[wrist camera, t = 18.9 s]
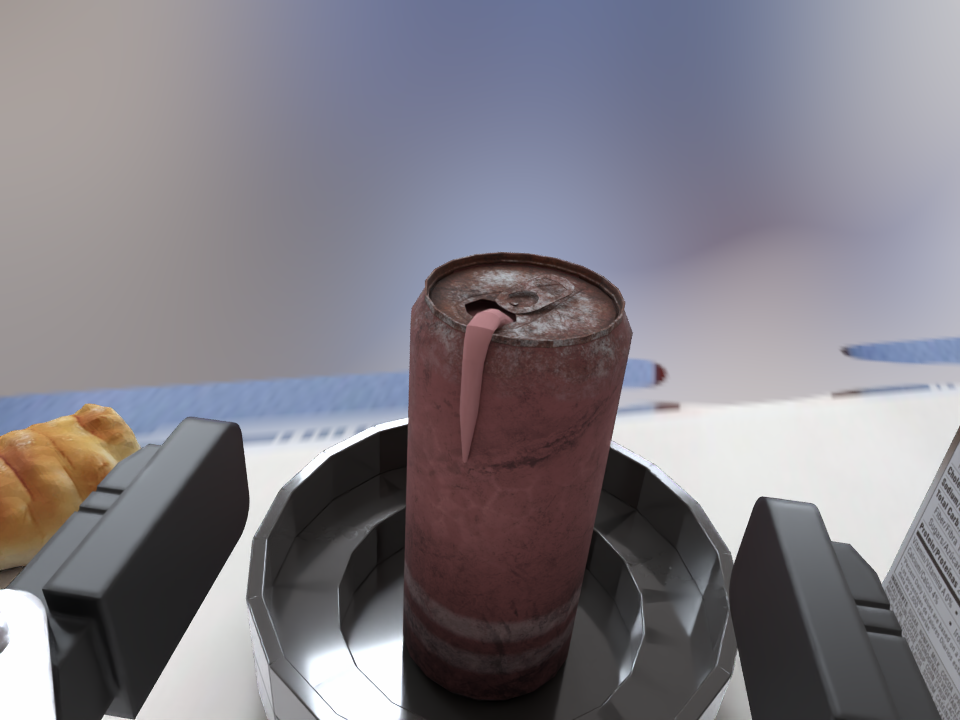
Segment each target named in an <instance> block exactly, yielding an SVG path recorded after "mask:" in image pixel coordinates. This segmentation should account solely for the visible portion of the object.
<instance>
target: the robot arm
mask: <svg viewBox="0 0 960 720" xmlns="http://www.w3.org/2000/svg"><path fill="white" fill-rule="evenodd" d="M248 511H249V489H248V481H247V473H246V464H245V456H244V448H243V440H242V433H241V429H240V427H239V425H238V424H237V423H234V422H226V421H219V420H212V419H204V418H197V417H187V418H185V419H184V420H183V421H182V422H181V423H180V424H179V425H178V426H177V428H176V429H175V430H174V431H173V432H172V434H171V435H170V436H169V437H168V438H167V440H166V441H165V442H164V443H163V444H162V445H155V444H148V445H146V446H145V447H143V448H141V449H140V450H138V451H136V452H135V453H133V454H131V455H130V456H128V457H127V458H125V459H123V460H122V461H120V462H118V463H117V464H116V466H115V467H114V468H113V469H112V470H111V471H110V472H109V473H108V474H107V476H106V477H105V478H104V479H103V480H102V481H101V482H100V483H99V485H98V486H97V490H96V492H95V491H92V492H91V494H90V495H89V496H88V497H87V498H86V499H85V500H84V501H83V503H82V504H81V505H80V506H79V510H78V512H76V511H74V513H73V514H72V515H71V516H70V517H69V518H68V519H67V520H66V522H65V523H64V524H63V525H62V526H61V527H60V528H59V529H58V531H57V532H56V533H55V534H54V535H53V536H52V537H51V538H50V540H49V541H48V542H47V543H46V544H45V545H44V546H43V547H42V548H41V550H40V551H39V552H38V553H37V554H36V555H35V556H34V557H33V559H32V560H31V561H30V562H29V563H28V564H27V565H26V566H25V568H24V569H23V570H22V571H21V572H20V573H19V574H18V575H17V577H16V578H15V579H14V580H13V581H12V582H11V583H10V584H9V585H8V586H7V587H6V588H5V589H0V720H101V719H102V717H103V716H104V714H105V715H111V716H117V717H122V718H128V719H134V720H135V718H136V716H137V714H138V713H139V711H140V709H141V708H142V706H143V704H144V702H145V701H146V699H147V697H148V696H149V694H150V692H151V690H152V689H153V687H154V685H155V683H156V682H157V680H158V678H159V677H160V675H161V673H162V671H163V670H164V668H165V666H166V664H167V663H168V661H169V659H170V658H171V656H172V654H173V652H174V651H175V649H176V647H177V645H178V644H179V642H180V640H181V639H182V637H183V635H184V633H185V632H186V630H187V628H188V627H189V625H190V623H191V621H192V620H193V618H194V616H195V614H196V613H197V611H198V609H199V608H200V606H201V604H202V602H203V601H204V599H205V597H206V595H207V594H208V592H209V590H210V589H211V587H212V585H213V583H214V582H215V580H216V578H217V577H218V575H219V573H220V571H221V570H222V568H223V566H224V564H225V563H226V561H227V559H228V558H229V556H230V554H231V552H232V551H233V549H234V547H235V545H236V544H237V542H238V540H239V539H240V537H241V535H242V533H243V530H244V527H245V525H246V521H247V517H248ZM729 605H730V613H731V618H732V623H733V627H734V632H735V637H736V642H737V647H738V652H739V657H740V662H741V666H742V671H743V676H744V681H745V686H746V691H747V696H748V701H749V705H750V710H751V715H752V720H942V719H941V716H940V714H939V712H938V710H937V707H936V705H935V703H934V701H933V699H932V696H931V694H930V692H929V690H928V687H927V685H926V683H925V681H924V678H923V676H922V674H921V672H920V669H919V667H918V665H917V663H916V660H915V658H914V656H913V654H912V651H911V649H910V647H909V645H908V642H907V640H906V638H905V637H902V629H901V627H900V624H899V622H898V620H897V618H896V616H895V613H894V611H891V610H890V605H891V604H890V602H889V600H888V598H887V595H886V593H885V591H884V589H883V586H882V584H881V582H880V580H879V577H878V575H877V573H876V572H875V571H874V570H873V569H872V568H871V566H870V565H869V564H868V563H867V562H866V561H865V560H864V559H863V558H862V557H861V556H860V555H859V553H858V552H857V551H856V550H855V549H854V548H853V547H852V546H851V545H850V544H846V543H839V542H832V541H831V540H830V537H829V535H828V532H827V530H826V527H825V525H824V522H823V519H822V517H821V514H820V512H819V510H818V508H817V507H816V505H814V504H812V503H806V502H799V501H791V500H784V499H777V498H769V497H760V498H758V500H757V501H756V503H755V505H754V507H753V510H752V513H751V516H750V519H749V522H748V525H747V528H746V531H745V533H744V536H743V539H742V542H741V545H740V548H739V551H738V554H737V557H736V560H735V563H734V565H733V569H732V573H731V578H730V586H729Z"/></svg>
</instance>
